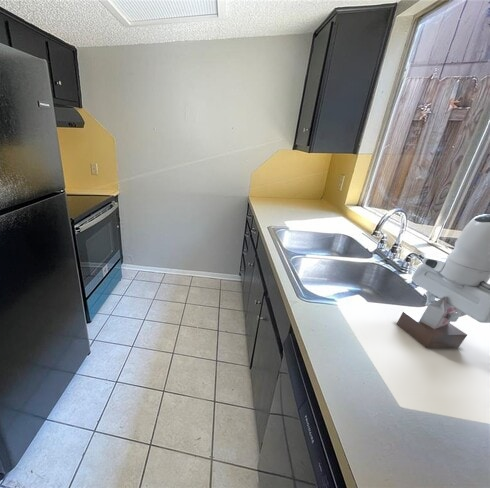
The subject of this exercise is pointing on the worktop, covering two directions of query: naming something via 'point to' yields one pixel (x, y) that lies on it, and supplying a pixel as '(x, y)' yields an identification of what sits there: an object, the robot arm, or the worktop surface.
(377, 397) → the worktop surface
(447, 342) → the walnut block
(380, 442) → the worktop surface
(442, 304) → the white milk carton
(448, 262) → the robot arm
